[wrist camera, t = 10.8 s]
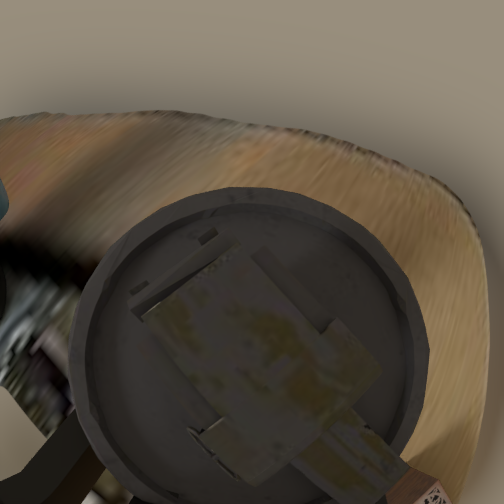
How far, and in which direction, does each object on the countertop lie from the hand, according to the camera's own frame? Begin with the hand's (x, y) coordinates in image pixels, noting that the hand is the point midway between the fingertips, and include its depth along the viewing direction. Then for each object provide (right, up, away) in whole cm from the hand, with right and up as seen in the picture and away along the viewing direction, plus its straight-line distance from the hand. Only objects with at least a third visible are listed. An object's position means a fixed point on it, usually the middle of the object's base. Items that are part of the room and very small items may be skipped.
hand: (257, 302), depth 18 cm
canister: (-1, -6, +5) cm, 8 cm away
